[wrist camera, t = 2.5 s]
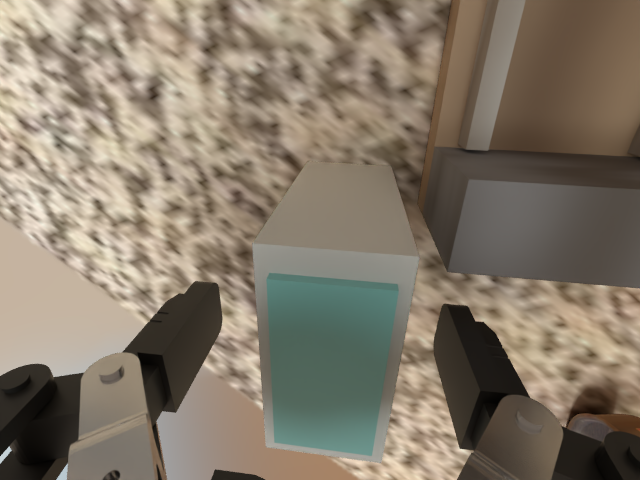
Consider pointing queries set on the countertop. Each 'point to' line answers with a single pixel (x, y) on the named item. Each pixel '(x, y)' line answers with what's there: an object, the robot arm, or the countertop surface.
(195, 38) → the countertop surface
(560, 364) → the countertop surface
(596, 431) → the tin
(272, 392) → the block
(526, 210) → the rack
